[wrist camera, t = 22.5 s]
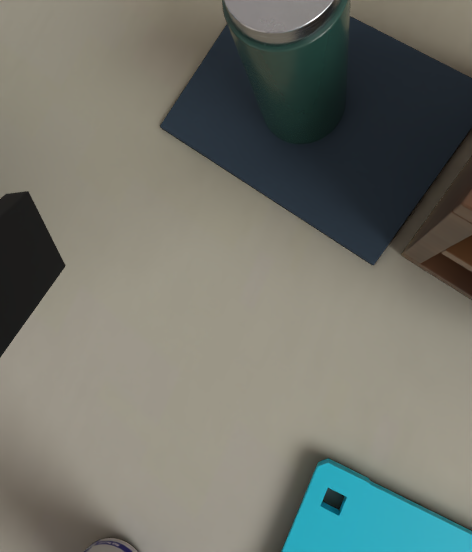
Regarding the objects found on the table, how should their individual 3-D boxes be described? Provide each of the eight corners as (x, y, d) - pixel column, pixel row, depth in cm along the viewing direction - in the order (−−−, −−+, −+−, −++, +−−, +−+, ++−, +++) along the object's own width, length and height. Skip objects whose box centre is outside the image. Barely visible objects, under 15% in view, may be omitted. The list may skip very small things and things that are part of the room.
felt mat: (161, 128, 32) (159, 126, 32) (262, -26, 32) (261, -30, 31) (373, 265, 28) (373, 265, 28) (495, 94, 28) (498, 91, 27)
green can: (246, 118, 31) (190, 1, 19) (292, 49, 30) (265, -114, 19) (313, 159, 29) (298, 61, 18) (363, 88, 29) (380, -61, 17)
